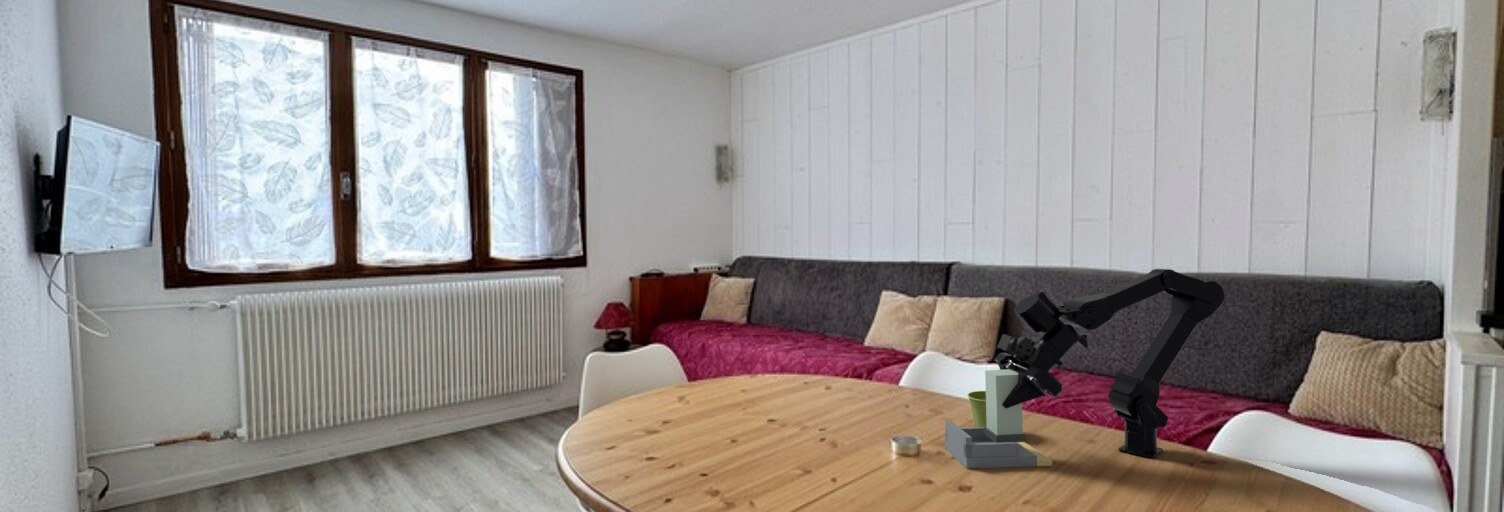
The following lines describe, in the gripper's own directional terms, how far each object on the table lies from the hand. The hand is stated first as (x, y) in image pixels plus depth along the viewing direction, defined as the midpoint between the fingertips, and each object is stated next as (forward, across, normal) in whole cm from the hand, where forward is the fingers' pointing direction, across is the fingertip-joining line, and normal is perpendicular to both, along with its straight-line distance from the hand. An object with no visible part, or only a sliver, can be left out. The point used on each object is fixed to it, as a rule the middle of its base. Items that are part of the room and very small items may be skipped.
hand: (998, 403), depth 131 cm
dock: (+8, 0, +7) cm, 11 cm away
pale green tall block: (+4, 0, +6) cm, 7 cm away
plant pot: (+5, -16, +11) cm, 20 cm away
